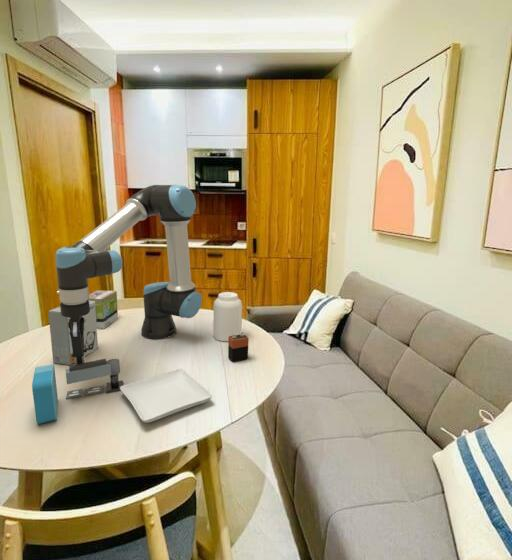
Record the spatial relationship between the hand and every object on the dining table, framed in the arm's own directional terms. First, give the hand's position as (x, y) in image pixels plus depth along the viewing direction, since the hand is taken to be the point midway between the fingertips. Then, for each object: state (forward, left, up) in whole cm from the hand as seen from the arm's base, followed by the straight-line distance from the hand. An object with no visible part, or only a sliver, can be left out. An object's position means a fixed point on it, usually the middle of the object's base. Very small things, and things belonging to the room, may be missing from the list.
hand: (81, 373), depth 103 cm
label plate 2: (-3, +2, -6) cm, 7 cm away
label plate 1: (+2, +2, -6) cm, 6 cm away
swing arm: (-4, +3, 0) cm, 5 cm away
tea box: (-4, -61, -6) cm, 62 cm away
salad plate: (-23, +14, -6) cm, 28 cm away
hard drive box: (+4, -27, -6) cm, 28 cm away
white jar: (-56, -26, -6) cm, 62 cm away
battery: (-53, -4, -6) cm, 54 cm away
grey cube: (-9, +2, -6) cm, 11 cm away
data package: (+8, +9, -6) cm, 13 cm away
